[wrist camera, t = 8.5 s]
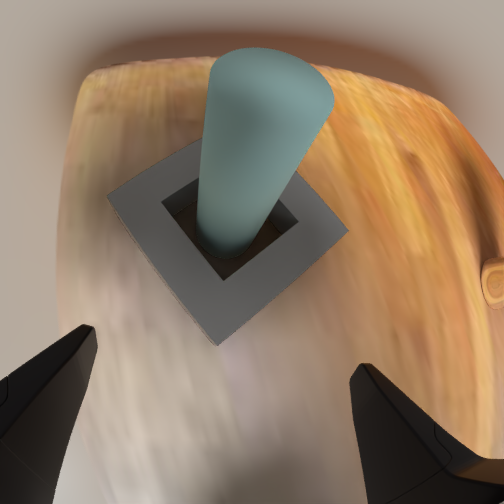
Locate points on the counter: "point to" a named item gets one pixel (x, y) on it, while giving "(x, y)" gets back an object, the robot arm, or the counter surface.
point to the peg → (254, 141)
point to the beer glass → (493, 282)
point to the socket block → (192, 261)
